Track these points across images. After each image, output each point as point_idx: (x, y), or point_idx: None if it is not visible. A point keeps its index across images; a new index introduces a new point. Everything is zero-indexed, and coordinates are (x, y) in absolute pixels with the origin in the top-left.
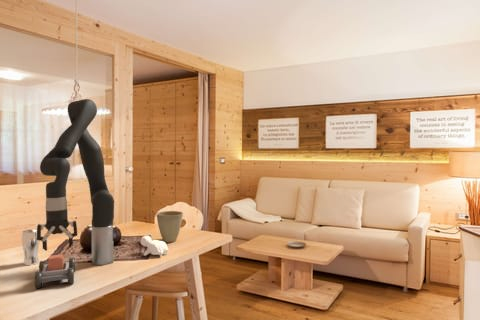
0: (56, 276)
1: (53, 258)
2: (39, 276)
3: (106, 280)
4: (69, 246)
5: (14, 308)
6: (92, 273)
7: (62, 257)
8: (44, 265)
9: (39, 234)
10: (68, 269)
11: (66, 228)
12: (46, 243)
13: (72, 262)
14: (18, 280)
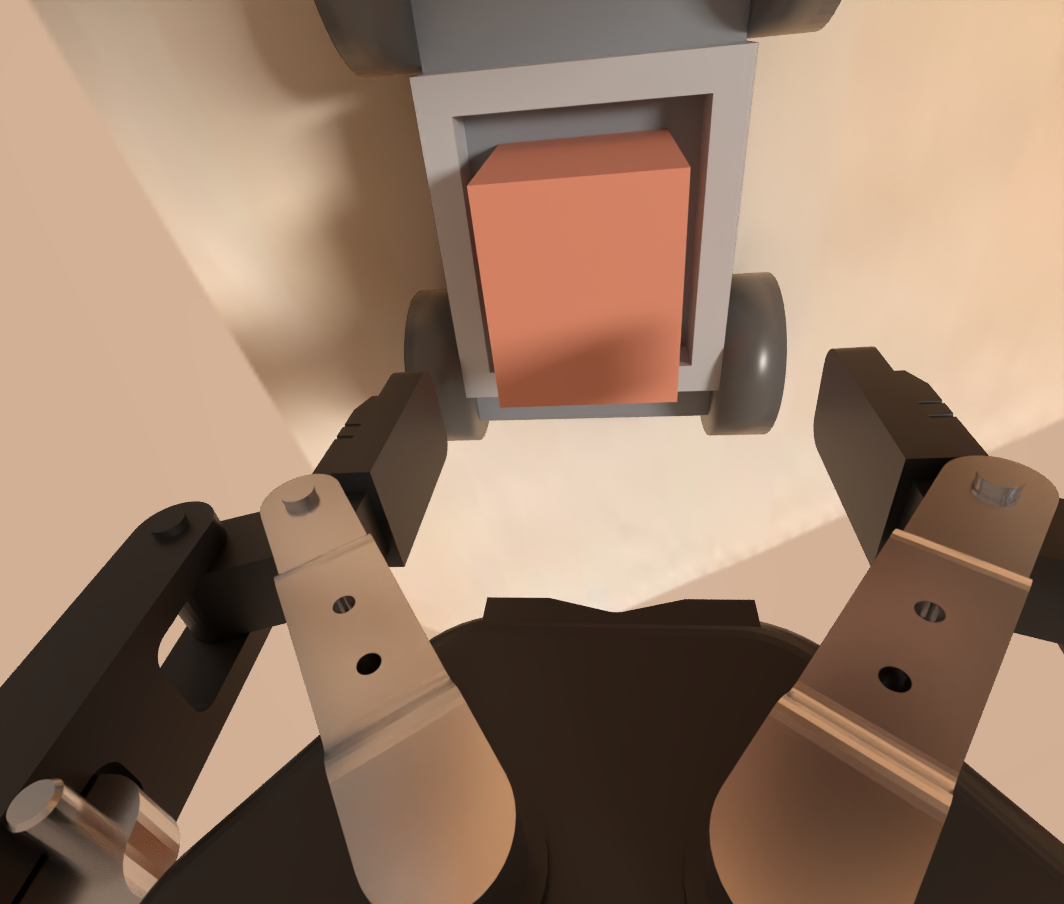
0: (607, 414)
1: (555, 355)
2: (465, 439)
3: (1039, 357)
4: (825, 449)
5: (423, 580)
6: (1001, 76)
7: (675, 351)
8: (422, 128)
9: (203, 725)
10: (724, 415)
11: (983, 699)
12: (416, 533)
13: (809, 2)
14: (193, 62)
